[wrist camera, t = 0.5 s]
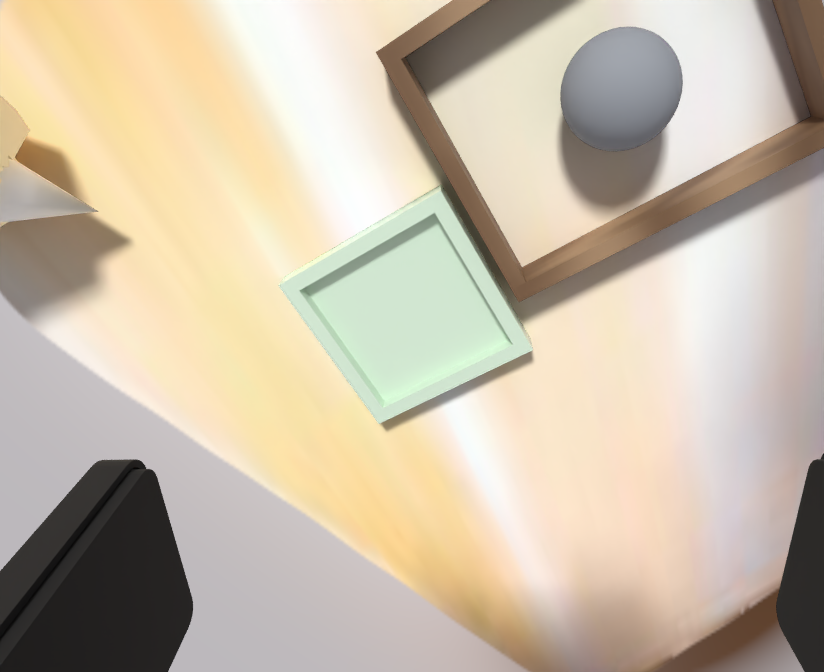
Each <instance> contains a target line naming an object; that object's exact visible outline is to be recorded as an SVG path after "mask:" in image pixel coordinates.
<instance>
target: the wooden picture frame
mask: <svg viewBox="0 0 824 672" xmlns="http://www.w3.org/2000/svg"><path fill="white" fill-rule="evenodd" d="M489 1H491V0H452V1H451V2H449V3H448V4H446V5H445V6H443V7H442V8H440V9H439V10H438V11H436V12H435V13H433V14H432V15H430V16H429V17H427V18H426V19H424V20H423V21H421V22H420V23H418V24H417V25H415V26H414V27H412V28H411V29H410V30H408V31H407V32H405V33H404V34H402V35H401V36H399V37H398V38H396V39H395V40H393V41H392V42H390V43H389V44H387V45H386V46H385V47H383V48H382V49H380V50H379V51H377V52H376V53H377V55H378V57H379V59H380V60H381V62H382V64H383V66H384V67H385V69H386V71H387V73H388V74H389V76H390V78H391V80H392V81H393V83H394V85H395V87H396V88H397V90H398V92H399V94H400V95H401V97H402V99H403V101H404V102H405V104H406V106H407V108H408V109H409V111H410V113H411V115H412V116H413V118H414V120H415V122H416V123H417V125H418V127H419V129H420V130H421V132H422V134H423V136H424V137H425V139H426V141H427V143H428V144H429V146H430V148H431V150H432V151H433V153H434V155H435V157H436V158H437V160H438V162H439V164H440V165H441V167H442V169H443V171H444V172H445V174H446V176H447V178H448V179H449V181H450V183H451V185H452V186H453V188H454V190H455V192H456V193H457V195H458V197H459V199H460V200H461V202H462V204H463V206H464V207H465V209H466V211H467V213H468V214H469V216H470V218H471V220H472V221H473V223H474V225H475V227H476V228H477V230H478V232H479V234H480V235H481V237H482V239H483V241H484V242H485V244H486V246H487V248H488V249H489V251H490V253H491V255H492V256H493V258H494V260H495V262H496V263H497V265H498V267H499V269H500V270H501V272H502V274H503V276H504V277H505V279H506V281H507V283H508V284H509V286H510V288H511V290H512V291H513V293H514V295H515V297H516V298H517V300H518V302H520V301H522V300H524V299H526V298H528V297H530V296H532V295H534V294H536V293H538V292H540V291H542V290H544V289H546V288H548V287H550V286H552V285H554V284H556V283H558V282H560V281H562V280H564V279H566V278H568V277H570V276H572V275H574V274H576V273H578V272H580V271H582V270H584V269H585V268H587V267H589V266H591V265H593V264H595V263H597V262H599V261H601V260H603V259H605V258H607V257H609V256H611V255H613V254H615V253H617V252H619V251H621V250H623V249H625V248H627V247H629V246H631V245H633V244H635V243H637V242H639V241H641V240H643V239H645V238H647V237H649V236H651V235H653V234H655V233H657V232H659V231H660V230H662V229H664V228H666V227H668V226H670V225H672V224H674V223H676V222H678V221H680V220H682V219H684V218H686V217H688V216H690V215H692V214H694V213H696V212H698V211H700V210H702V209H704V208H706V207H708V206H710V205H712V204H714V203H716V202H718V201H720V200H722V199H724V198H726V197H728V196H730V195H732V194H734V193H735V192H737V191H739V190H741V189H743V188H745V187H747V186H749V185H751V184H753V183H755V182H757V181H759V180H761V179H763V178H765V177H767V176H769V175H771V174H773V173H775V172H777V171H779V170H781V169H783V168H785V167H787V166H789V165H791V164H793V163H795V162H797V161H799V160H801V159H803V158H805V157H807V156H809V155H810V154H812V153H814V152H816V151H818V150H820V149H822V148H824V7H823V3H822V0H773V3H774V6H775V9H776V12H777V15H778V18H779V21H780V24H781V27H782V30H783V33H784V36H785V39H786V42H787V45H788V48H789V51H790V54H791V57H792V60H793V63H794V66H795V69H796V72H797V75H798V78H799V81H800V84H801V87H802V90H803V93H804V96H805V99H806V102H807V105H808V108H809V111H810V114H811V117H809V118H807V119H805V120H803V121H801V122H799V123H798V124H796V125H794V126H792V127H790V128H788V129H786V130H784V131H782V132H780V133H778V134H777V135H775V136H773V137H771V138H769V139H767V140H765V141H763V142H761V143H759V144H757V145H755V146H754V147H752V148H750V149H748V150H746V151H744V152H742V153H740V154H738V155H736V156H734V157H733V158H731V159H729V160H727V161H725V162H723V163H721V164H719V165H717V166H715V167H713V168H712V169H710V170H708V171H706V172H704V173H702V174H700V175H698V176H696V177H694V178H692V179H690V180H689V181H687V182H685V183H683V184H681V185H679V186H677V187H675V188H673V189H671V190H669V191H668V192H666V193H664V194H662V195H660V196H658V197H656V198H654V199H652V200H650V201H648V202H647V203H645V204H643V205H641V206H639V207H637V208H635V209H633V210H631V211H629V212H627V213H625V214H624V215H622V216H620V217H618V218H616V219H614V220H612V221H610V222H608V223H606V224H604V225H603V226H601V227H599V228H597V229H595V230H593V231H591V232H589V233H587V234H585V235H583V236H582V237H580V238H578V239H576V240H574V241H572V242H570V243H568V244H566V245H564V246H562V247H560V248H559V249H557V250H555V251H553V252H551V253H549V254H547V255H545V256H543V257H541V258H539V259H538V260H536V261H534V262H532V263H530V264H528V265H526V266H524V267H521V265H520V263H519V261H518V260H517V258H516V256H515V254H514V252H513V251H512V249H511V247H510V245H509V243H508V242H507V240H506V238H505V236H504V234H503V233H502V231H501V229H500V227H499V225H498V224H497V222H496V220H495V218H494V216H493V215H492V213H491V211H490V209H489V207H488V206H487V204H486V202H485V200H484V198H483V197H482V195H481V193H480V191H479V189H478V188H477V186H476V184H475V182H474V180H473V179H472V177H471V175H470V173H469V172H468V170H467V168H466V166H465V164H464V163H463V161H462V159H461V157H460V155H459V154H458V152H457V150H456V148H455V146H454V145H453V143H452V141H451V139H450V137H449V136H448V134H447V132H446V130H445V128H444V127H443V125H442V123H441V121H440V119H439V118H438V116H437V114H436V112H435V110H434V109H433V107H432V105H431V103H430V101H429V100H428V98H427V96H426V94H425V92H424V91H423V89H422V87H421V85H420V83H419V82H418V80H417V78H416V76H415V74H414V73H413V71H412V69H411V67H410V65H409V64H408V62H407V60H406V58H405V57H407V56H408V55H410V54H411V53H413V52H414V51H416V50H417V49H419V48H420V47H422V46H423V45H425V44H426V43H428V42H429V41H431V40H432V39H434V38H435V37H437V36H438V35H440V34H441V33H443V32H444V31H446V30H447V29H449V28H450V27H452V26H453V25H455V24H456V23H458V22H459V21H461V20H462V19H464V18H465V17H467V16H468V15H470V14H471V13H473V12H474V11H476V10H477V9H479V8H480V7H482V6H483V5H485V4H486V3H488V2H489Z"/></svg>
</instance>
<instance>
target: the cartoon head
mask: <svg viewBox="0 0 824 672" xmlns="http://www.w3.org/2000/svg"><path fill="white" fill-rule="evenodd" d="M29 132H30V129H29V127H28V126H27V125H26V123H25V122H24V120H23V119H22V117H21V116H20V114H19V113H18V111H17V110H16V109H15V108H14V107H13V106H12V105H11V104H9V103H8V102H7V101H6V100H5V99H4V98H3V97H2V96H0V227H2V226H3V225H5V224H6V223H7V222H11V221H20V220H29V219H37V218H46V217H55V216H64V215H73V214H82V213H91V212H98V211H97V210H95V209H94V208H92V207H90V206H89V205H87V204H85V203H84V202H82V201H81V200H79V199H77V198H76V197H74V196H73V195H71V194H69V193H68V192H66V191H64V190H63V189H61V188H60V187H58V186H56V185H55V184H53V183H51V182H50V181H48V180H47V179H45V178H43V177H42V176H40V175H39V174H37V173H35V172H34V171H32V170H30V169H29V168H27V167H26V166H24V165H22V164H21V163H19V162H17V160H16V158H15V156H16V154H17V152H18V151H19V149H20V147H21V145H22V144H23V142H24V140H25V138H26V137H27V135H28V133H29Z"/></svg>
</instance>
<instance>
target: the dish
mask: <svg viewBox="0 0 824 672" xmlns="http://www.w3.org/2000/svg"><path fill="white" fill-rule="evenodd" d="M278 286H279V287H280V288H281V290H282V291H283V292H284V294H285V295H286V297H287V298H288V299H289V301H290V302H291V303H292V305H293V306H294V308H295V309H296V310H297V312H298V313H299V315H300V316H301V317H302V319H303V320H304V321H305V323H306V324H307V326H308V327H309V328H310V330H311V331H312V332H313V334H314V335H315V337H316V338H317V339H318V341H319V342H320V343H321V345H322V346H323V348H324V349H325V350H326V352H327V353H328V355H329V356H330V357H331V359H332V360H333V361H334V363H335V364H336V366H337V367H338V368H339V370H340V371H341V372H342V374H343V375H344V377H345V378H346V379H347V381H348V382H349V383H350V385H351V386H352V388H353V389H354V390H355V392H356V393H357V395H358V396H359V397H360V399H361V400H362V401H363V403H364V404H365V406H366V407H367V408H368V410H369V411H370V412H371V414H372V415H373V417H374V418H375V419H376V421H377V422H378V423H379V424H380V423H382V422H384V421H386V420H388V419H390V418H392V417H394V416H396V415H398V414H400V413H403V412H405V411H407V410H409V409H411V408H413V407H415V406H417V405H419V404H421V403H423V402H425V401H428V400H430V399H432V398H434V397H436V396H438V395H440V394H442V393H444V392H446V391H448V390H451V389H453V388H455V387H457V386H459V385H461V384H463V383H465V382H467V381H469V380H471V379H473V378H476V377H478V376H480V375H482V374H484V373H486V372H488V371H490V370H492V369H494V368H496V367H498V366H501V365H503V364H505V363H507V362H509V361H511V360H513V359H515V358H517V357H519V356H521V355H523V354H526V353H528V352H530V351H532V350H533V347H532V343H531V339H530V337H529V335H528V333H527V332H526V330H525V328H524V327H523V325H522V323H521V321H520V320H519V318H518V316H517V314H516V313H515V311H514V309H513V308H512V306H511V304H510V302H509V301H508V299H507V297H506V295H505V294H504V292H503V290H502V288H501V287H500V285H499V283H498V282H497V280H496V278H495V276H494V275H493V273H492V271H491V269H490V268H489V266H488V264H487V263H486V261H485V259H484V257H483V256H482V254H481V252H480V250H479V249H478V247H477V245H476V243H475V242H474V240H473V238H472V237H471V235H470V233H469V231H468V230H467V228H466V226H465V224H464V223H463V221H462V219H461V218H460V216H459V214H458V212H457V211H456V209H455V207H454V205H453V204H452V202H451V200H450V198H449V197H448V195H447V193H446V192H445V190H444V188H443V186H442V185H440V186H438V187H436V188H435V189H433V190H431V191H430V192H428V193H426V194H424V195H423V196H421V197H419V198H418V199H416V200H414V201H413V202H411V203H409V204H407V205H406V206H404V207H402V208H401V209H399V210H397V211H396V212H394V213H392V214H390V215H389V216H387V217H385V218H384V219H382V220H380V221H379V222H377V223H375V224H373V225H372V226H370V227H368V228H367V229H365V230H363V231H362V232H360V233H358V234H356V235H355V236H353V237H351V238H350V239H348V240H346V241H345V242H343V243H341V244H339V245H338V246H336V247H334V248H333V249H331V250H329V251H328V252H326V253H324V254H322V255H321V256H319V257H317V258H316V259H314V260H312V261H311V262H309V263H307V264H305V265H304V266H302V267H300V268H299V269H297V270H295V271H293V272H292V273H290V274H288V275H287V276H285V277H284V279H283V280H282V281H281V283H280V284H279V285H278Z"/></svg>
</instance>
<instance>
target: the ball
mask: <svg viewBox="0 0 824 672" xmlns="http://www.w3.org/2000/svg"><path fill="white" fill-rule="evenodd" d="M682 84H683V81H682V71H681V66H680V63H679V60H678V58H677V56H676V54H675V52H674V51H673V49H672V48H671V46H670V45H669V44H668V43H667V42H666V41H665V40H664V39H663V38H661V37H660V36H659V35H657V34H655V33H653V32H651V31H648V30H646V29H642V28H637V27H619V28H615V29H611V30H608V31H605V32H603V33H601V34H599V35H597V36H595V37H593V38H592V39H591V40H589V41H588V42H587V43H585V44H584V45H583V46H582V47H581V48H580V49H579V50H578V51H577V53H576V54H575V55H574V57H573V58H572V60H571V61H570V63H569V65H568V67H567V69H566V71H565V74H564V77H563V81H562V85H561V107H562V111H563V115H564V118H565V120H566V122H567V124H568V126H569V127H570V129H571V130H572V131H573V133H574V134H575V135H576V136H577V137H578V138H579V139H580V140H582V141H583V142H585V143H586V144H588V145H590V146H592V147H594V148H597V149H600V150H605V151H623V150H628V149H632V148H635V147H638V146H640V145H643V144H645V143H646V142H648V141H650V140H651V139H653V138H654V137H655V136H656V135H658V134H659V133H660V132H661V131H662V130H663V129H664V128H665V127H666V125H667V124H668V123H669V122H670V120H671V118H672V117H673V115H674V113H675V111H676V109H677V107H678V104H679V101H680V98H681V93H682Z"/></svg>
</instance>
